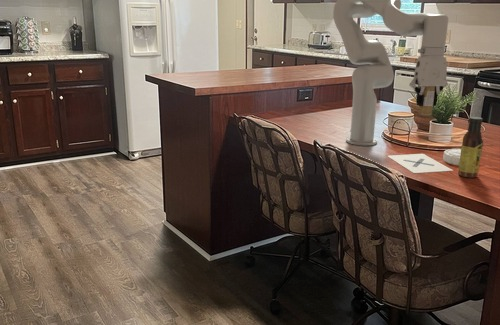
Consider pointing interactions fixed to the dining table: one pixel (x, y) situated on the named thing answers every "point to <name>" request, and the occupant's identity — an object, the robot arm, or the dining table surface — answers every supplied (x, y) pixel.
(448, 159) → the cheese wheel
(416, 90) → the robot arm
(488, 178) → the dining table surface
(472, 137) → the sauce bottle
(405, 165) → the letter sheet
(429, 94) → the sprinkles bottle
